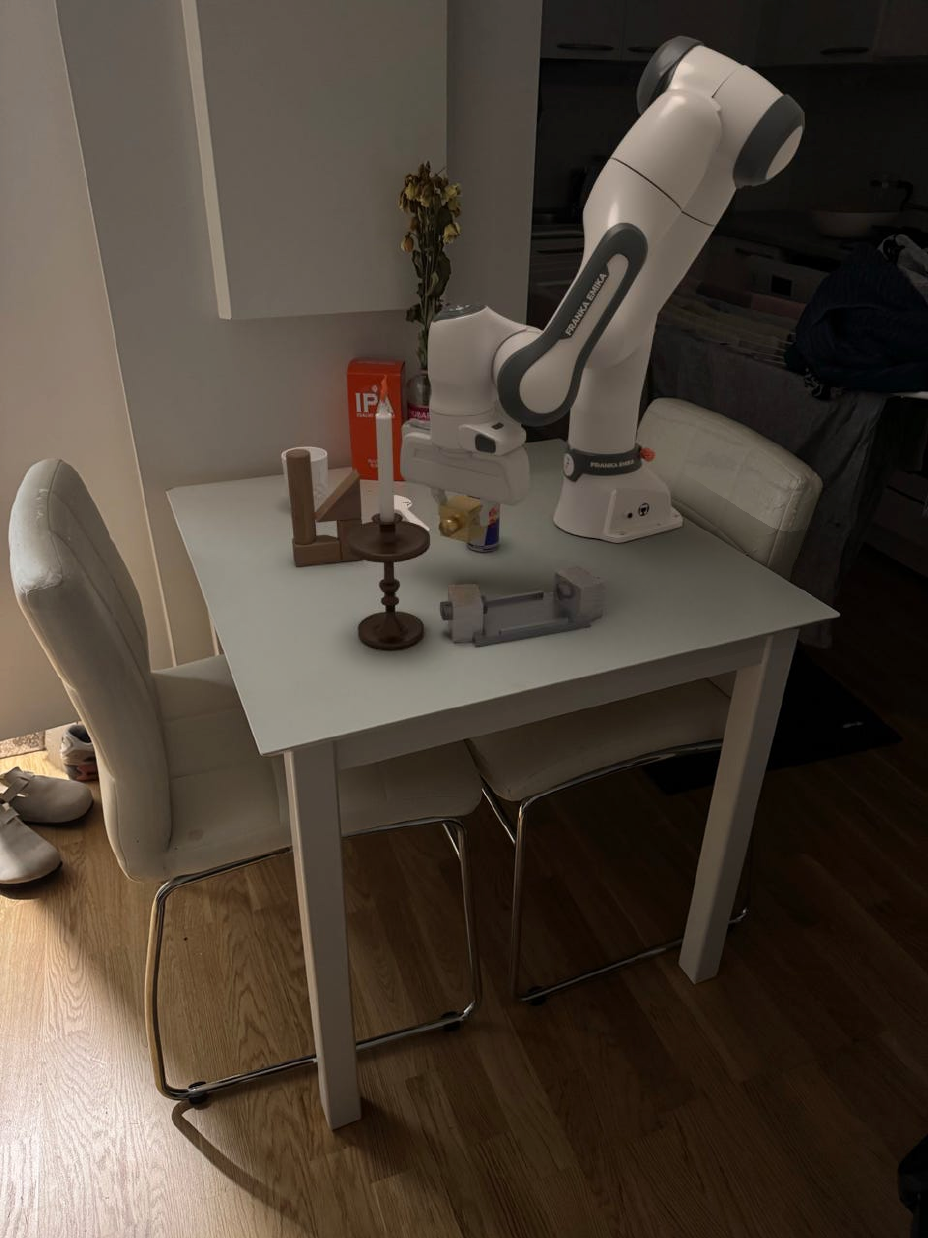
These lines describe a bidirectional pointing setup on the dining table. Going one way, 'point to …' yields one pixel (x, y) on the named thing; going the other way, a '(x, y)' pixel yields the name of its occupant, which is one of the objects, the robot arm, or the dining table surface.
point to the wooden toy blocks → (320, 513)
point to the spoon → (404, 509)
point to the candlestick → (388, 550)
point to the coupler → (460, 518)
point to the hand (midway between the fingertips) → (463, 519)
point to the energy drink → (488, 532)
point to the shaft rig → (523, 610)
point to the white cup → (313, 474)
